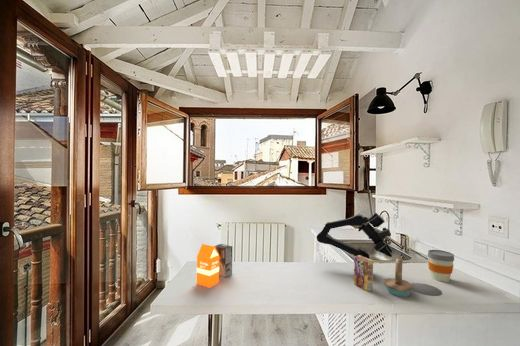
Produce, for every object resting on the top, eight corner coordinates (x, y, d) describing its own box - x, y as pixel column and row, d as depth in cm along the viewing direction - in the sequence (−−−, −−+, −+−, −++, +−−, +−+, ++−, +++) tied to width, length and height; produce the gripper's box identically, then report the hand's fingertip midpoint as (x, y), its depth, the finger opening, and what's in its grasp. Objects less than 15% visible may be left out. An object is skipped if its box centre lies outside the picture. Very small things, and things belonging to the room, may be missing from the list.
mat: (416, 295, 132) (416, 294, 132) (403, 282, 147) (403, 282, 147) (448, 297, 131) (448, 296, 131) (432, 284, 146) (432, 283, 146)
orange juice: (206, 278, 148) (206, 242, 147) (219, 282, 143) (219, 244, 143) (196, 283, 141) (196, 245, 141) (209, 287, 136) (210, 248, 136)
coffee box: (232, 274, 155) (233, 246, 154) (225, 277, 149) (225, 248, 149) (220, 270, 160) (221, 243, 159) (213, 273, 154) (213, 246, 154)
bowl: (391, 296, 131) (391, 289, 131) (384, 287, 141) (384, 280, 141) (413, 297, 130) (413, 290, 130) (404, 288, 140) (404, 281, 140)
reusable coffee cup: (440, 274, 161) (441, 249, 161) (459, 283, 148) (460, 256, 148) (421, 275, 159) (422, 249, 158) (439, 284, 146) (440, 256, 146)
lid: (382, 286, 134) (382, 260, 134) (386, 278, 145) (386, 253, 144) (412, 293, 127) (412, 266, 126) (414, 284, 138) (414, 258, 137)
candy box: (372, 289, 138) (373, 260, 138) (366, 291, 136) (367, 261, 136) (359, 282, 146) (360, 254, 146) (353, 284, 144) (354, 255, 144)
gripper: (381, 226, 147) (403, 250, 142) (382, 221, 164) (402, 241, 159) (365, 239, 151) (387, 262, 146) (368, 232, 167) (387, 253, 163)
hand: (391, 254), depth 153 cm, fingers open, 9 cm apart
